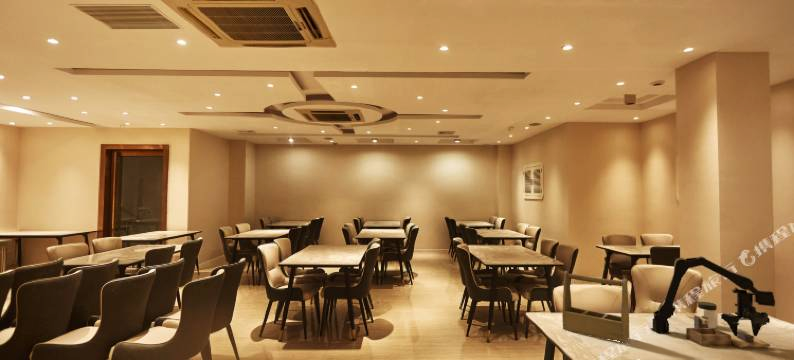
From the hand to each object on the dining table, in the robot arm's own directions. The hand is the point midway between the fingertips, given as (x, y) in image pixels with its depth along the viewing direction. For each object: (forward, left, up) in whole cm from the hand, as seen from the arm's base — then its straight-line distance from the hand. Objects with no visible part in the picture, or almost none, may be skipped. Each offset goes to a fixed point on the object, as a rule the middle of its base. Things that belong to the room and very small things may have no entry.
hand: (745, 336), depth 190 cm
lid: (0, 0, -4) cm, 4 cm away
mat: (0, 0, -4) cm, 4 cm away
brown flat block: (-15, +3, -4) cm, 16 cm away
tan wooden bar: (-10, +17, +2) cm, 20 cm away
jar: (+3, +27, -4) cm, 28 cm away
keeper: (-10, +14, -4) cm, 18 cm away
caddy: (-65, +13, -4) cm, 66 cm away
